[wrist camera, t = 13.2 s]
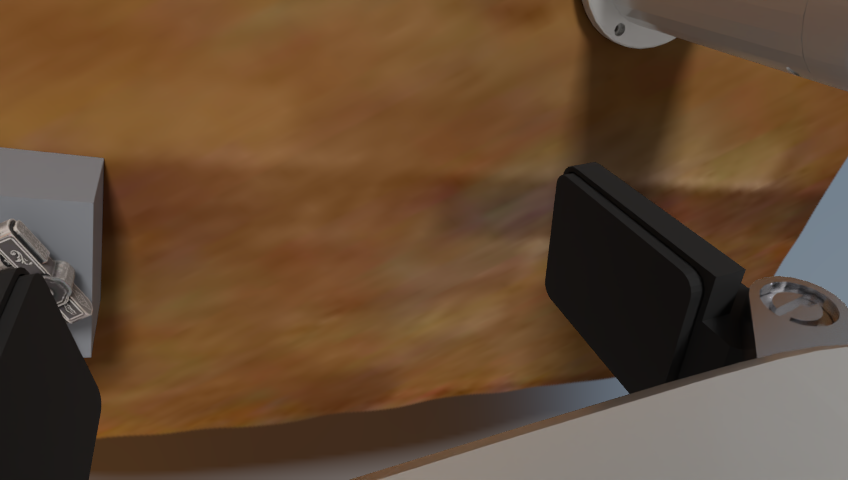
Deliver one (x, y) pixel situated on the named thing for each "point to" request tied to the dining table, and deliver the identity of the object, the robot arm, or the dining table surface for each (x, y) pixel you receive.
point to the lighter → (43, 268)
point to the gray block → (60, 217)
